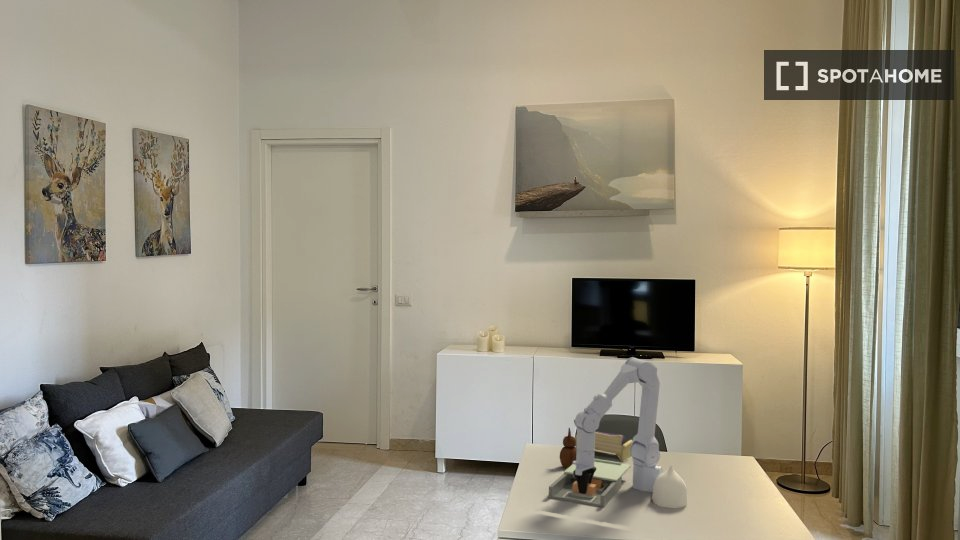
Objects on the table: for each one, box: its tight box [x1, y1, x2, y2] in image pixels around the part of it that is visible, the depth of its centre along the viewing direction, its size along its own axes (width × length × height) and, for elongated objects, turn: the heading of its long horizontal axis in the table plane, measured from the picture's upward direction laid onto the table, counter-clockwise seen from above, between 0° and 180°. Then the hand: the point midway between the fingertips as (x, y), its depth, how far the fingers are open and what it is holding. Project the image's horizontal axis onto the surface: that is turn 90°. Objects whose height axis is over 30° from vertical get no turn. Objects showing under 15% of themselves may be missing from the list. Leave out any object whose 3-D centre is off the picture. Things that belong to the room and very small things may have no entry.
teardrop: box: [651, 465, 688, 509], centre depth 244 cm, size 11×11×12 cm
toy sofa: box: [574, 430, 633, 462], centre depth 295 cm, size 21×9×10 cm, turn 58°
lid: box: [563, 458, 632, 482], centre depth 260 cm, size 18×18×1 cm
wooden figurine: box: [559, 427, 577, 469], centre depth 278 cm, size 7×6×15 cm
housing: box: [548, 472, 623, 508], centre depth 248 cm, size 18×21×5 cm
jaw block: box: [572, 481, 596, 496], centre depth 246 cm, size 7×3×3 cm, turn 65°
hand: (584, 491), depth 246 cm, fingers closed on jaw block, 3 cm apart
